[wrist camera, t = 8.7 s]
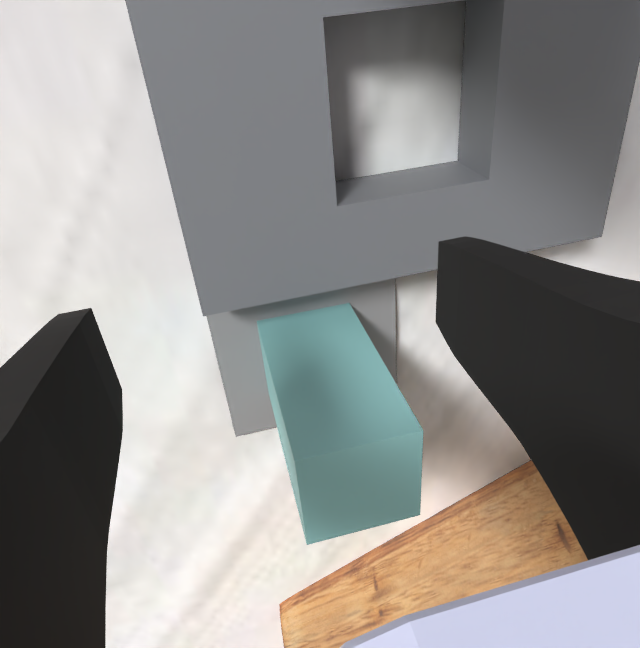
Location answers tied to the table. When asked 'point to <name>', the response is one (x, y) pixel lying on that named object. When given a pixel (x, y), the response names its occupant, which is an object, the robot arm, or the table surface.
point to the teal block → (340, 423)
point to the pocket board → (388, 188)
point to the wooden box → (438, 562)
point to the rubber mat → (246, 355)
